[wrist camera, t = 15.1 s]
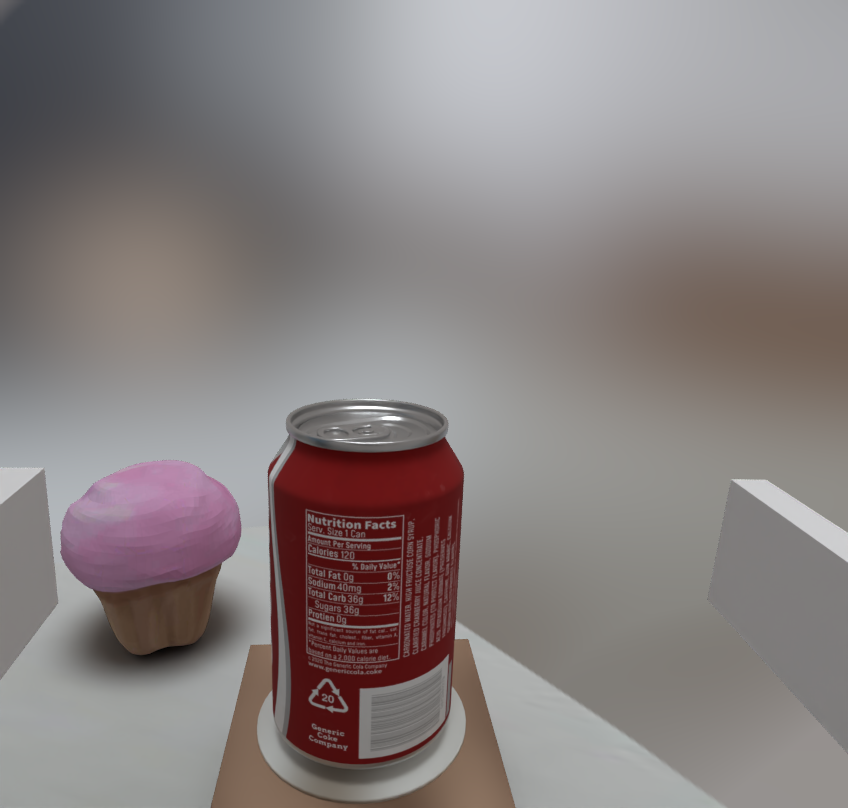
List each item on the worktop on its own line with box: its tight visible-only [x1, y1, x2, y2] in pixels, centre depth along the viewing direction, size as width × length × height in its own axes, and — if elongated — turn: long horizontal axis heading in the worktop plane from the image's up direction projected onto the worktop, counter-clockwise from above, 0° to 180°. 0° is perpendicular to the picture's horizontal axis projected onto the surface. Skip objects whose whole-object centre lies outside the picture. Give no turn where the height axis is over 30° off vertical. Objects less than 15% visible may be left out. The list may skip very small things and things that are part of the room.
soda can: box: [268, 399, 464, 770], centre depth 24 cm, size 7×7×12 cm
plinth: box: [211, 639, 515, 808], centre depth 26 cm, size 10×10×4 cm
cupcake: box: [60, 460, 241, 655], centre depth 36 cm, size 9×9×10 cm
